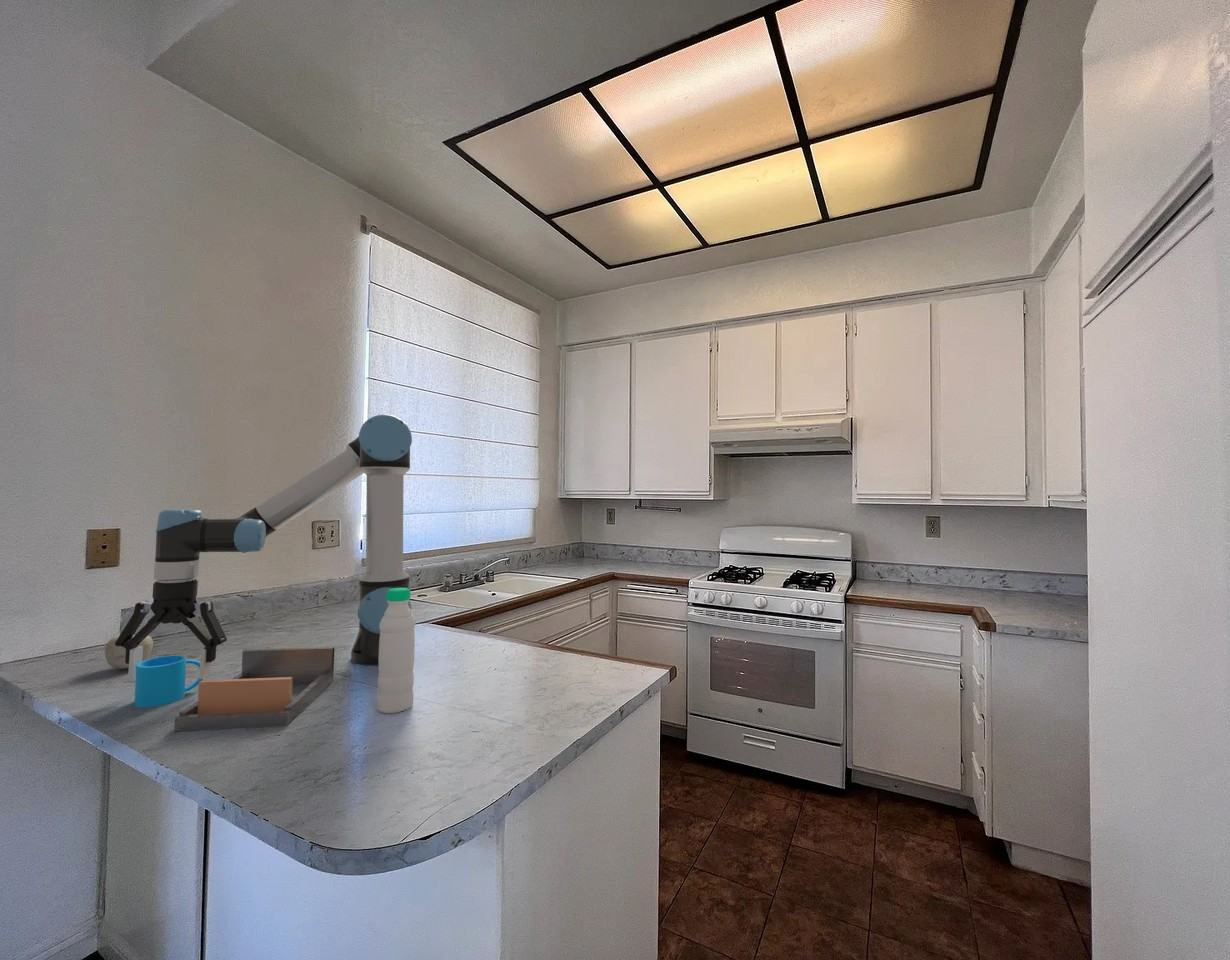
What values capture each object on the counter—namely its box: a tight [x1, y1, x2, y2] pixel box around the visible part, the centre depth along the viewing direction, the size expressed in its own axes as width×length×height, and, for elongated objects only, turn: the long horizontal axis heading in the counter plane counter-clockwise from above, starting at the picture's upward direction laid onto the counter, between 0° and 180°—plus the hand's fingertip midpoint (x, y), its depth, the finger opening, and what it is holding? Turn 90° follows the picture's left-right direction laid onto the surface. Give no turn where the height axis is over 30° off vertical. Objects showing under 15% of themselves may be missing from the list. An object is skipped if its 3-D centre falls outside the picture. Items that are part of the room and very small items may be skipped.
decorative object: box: [104, 633, 154, 670], centre depth 131 cm, size 9×9×10 cm
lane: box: [173, 646, 335, 732], centre depth 111 cm, size 19×24×8 cm
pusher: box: [197, 677, 293, 714], centre depth 105 cm, size 16×4×7 cm, turn 100°
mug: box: [134, 654, 204, 708], centre depth 114 cm, size 12×8×8 cm
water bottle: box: [376, 588, 416, 715], centre depth 110 cm, size 7×7×25 cm
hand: (170, 677), depth 113 cm, fingers open, 13 cm apart
